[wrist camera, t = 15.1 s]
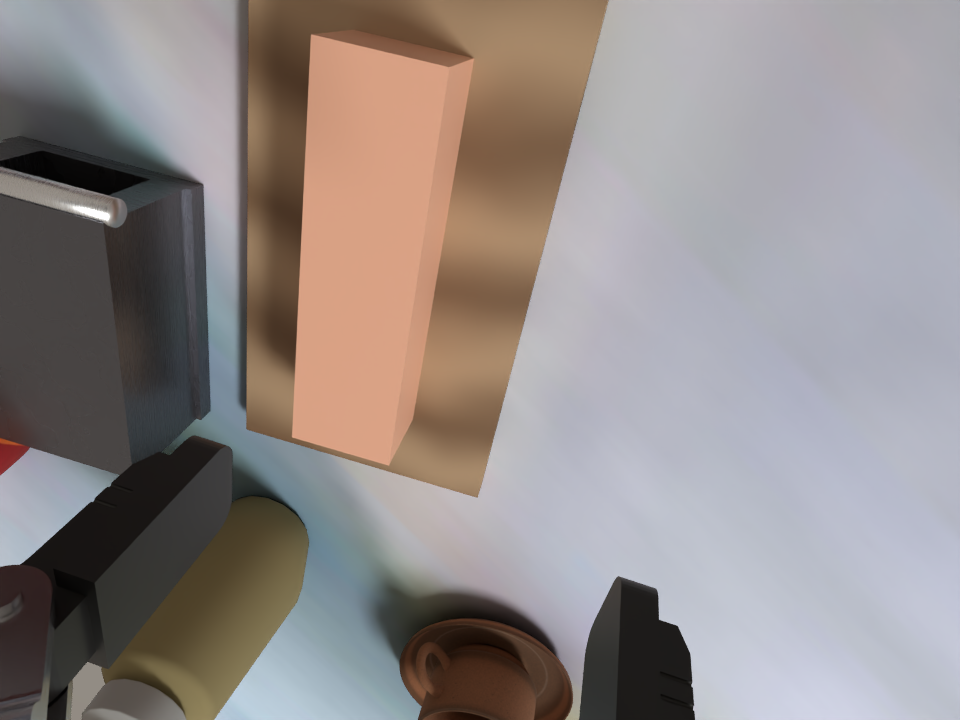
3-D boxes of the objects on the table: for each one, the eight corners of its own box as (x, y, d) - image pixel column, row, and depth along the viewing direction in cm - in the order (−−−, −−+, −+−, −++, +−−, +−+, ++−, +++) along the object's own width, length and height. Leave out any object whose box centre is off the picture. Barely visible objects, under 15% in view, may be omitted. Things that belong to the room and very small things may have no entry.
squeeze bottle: (197, 529, 44) (-32, 809, 29) (236, 459, 40) (-7, 742, 25) (298, 588, 45) (127, 890, 30) (345, 526, 41) (176, 838, 26)
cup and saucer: (379, 656, 48) (348, 738, 42) (462, 573, 41) (437, 656, 36) (512, 734, 49) (498, 822, 44) (611, 664, 43) (608, 758, 38)
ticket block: (353, 29, 26) (310, 34, 22) (474, 58, 25) (449, 67, 22) (325, 394, 35) (292, 437, 31) (412, 419, 34) (388, 465, 31)
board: (264, -111, 25) (248, -115, 24) (616, -31, 24) (615, -32, 23) (256, 417, 38) (246, 429, 37) (481, 483, 37) (477, 497, 36)
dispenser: (16, 117, 32) (-116, 143, 26) (202, 166, 31) (107, 203, 25) (60, 366, 40) (-36, 427, 34) (210, 410, 39) (138, 480, 33)
